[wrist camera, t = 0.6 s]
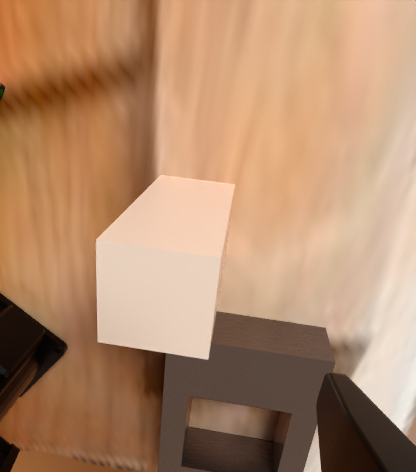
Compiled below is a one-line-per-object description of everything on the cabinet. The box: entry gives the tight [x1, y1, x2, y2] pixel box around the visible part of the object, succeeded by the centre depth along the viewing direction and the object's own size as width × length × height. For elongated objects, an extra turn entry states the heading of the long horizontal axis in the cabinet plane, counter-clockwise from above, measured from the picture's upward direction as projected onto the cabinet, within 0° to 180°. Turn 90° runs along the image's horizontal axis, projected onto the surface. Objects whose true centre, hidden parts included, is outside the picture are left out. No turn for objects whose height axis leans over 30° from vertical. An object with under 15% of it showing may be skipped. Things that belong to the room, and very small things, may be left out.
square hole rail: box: [158, 312, 335, 472], centre depth 24 cm, size 14×9×3 cm, turn 174°
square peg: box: [96, 175, 235, 360], centre depth 17 cm, size 4×4×9 cm
